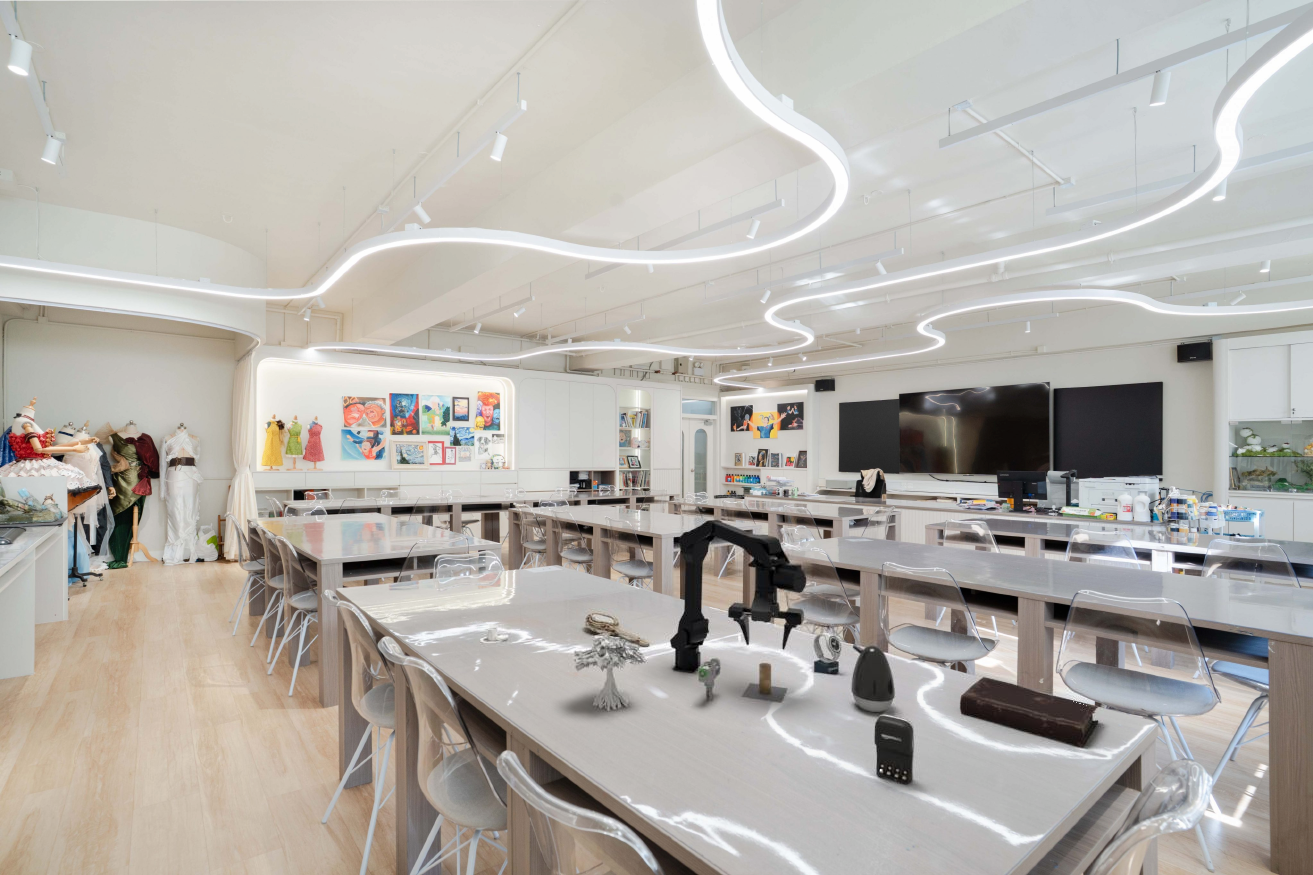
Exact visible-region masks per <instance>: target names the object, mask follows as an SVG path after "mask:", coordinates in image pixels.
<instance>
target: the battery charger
mask: <svg viewBox="0 0 1313 875" xmlns="http://www.w3.org/2000/svg"><path fill="white" fill-rule="evenodd" d="M874 745H875V747H876V748H875V749H876V751H875V752H876V768H875V769H876V775H878V776H879V777H881V778H883V779H886V780H890V781H893V782H897V783H901V784H905V785H908V784H910V783H911V782H912V781H913V780H914V759H915V758H914V757H915V756H914V755H915V754H914V753H915V729H914V725H913V723H912V722H911V721H910V720H908V719H905V718H902V717H898V716H895V715H890V714H881V715H879V716H878V718H877V719H876V721H875V724H874Z"/></svg>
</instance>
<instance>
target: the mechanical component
mask: <svg viewBox="0 0 1313 875" xmlns="http://www.w3.org/2000/svg"><path fill="white" fill-rule="evenodd" d="M697 672H698V673H697V674H698V676H697V677H698V682H699V683H704V686H705V690H706V691H705V700H706V701H708V702H712V701H713V687H714V686H715V679H717V677H718V676H719V675H720V673H721V661H720V659H719V658H717V657H712V658H711V659H710V660H708V661H704V662H703V663H702V664H701V666H700V667H699V668H698V669H697Z"/></svg>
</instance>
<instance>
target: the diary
mask: <svg viewBox="0 0 1313 875" xmlns="http://www.w3.org/2000/svg"><path fill="white" fill-rule="evenodd" d="M1073 701H1074V702H1073ZM1076 702H1077V703H1076ZM1079 703H1081V704H1079ZM1083 704H1084V705H1083ZM1086 705H1087V706H1086ZM1098 708H1099V706H1098V705H1096V704H1095V705H1094V704H1090V703H1086V702H1082V701H1077V700H1075V699H1074V700H1073V699H1070V698H1065V697H1061V696H1056V695H1053V694H1048V693H1043V692H1040V691H1037V690H1033V689H1031V688H1027V687H1024V686H1020V685H1017V684H1015V683H1012V682H1006V681H1004V680H999V679H994V678H990V677H986V676H982V677H981V678H980V679H978V680H977V681H976V682H975V683H974V684H971V686H970V687H969V688H968V689H967V690H965V692H964V693H962V694H961V695H960V701H959V709H960V714H962V715H966V716H970V717H974V718H977V719H981V720H984V721H988V722H992V723H995V724H999V725H1002V726H1005V727H1009V728H1013V729H1016V730H1019V731H1023V732H1026V733H1029V734H1033V735H1037V736H1041V737H1044V738H1049V739H1052V740H1054V741H1055V740H1056V741H1059V742H1062V743H1065V744H1068V745H1069V744H1070V745H1072V746H1075V747H1079V748H1081V749H1082V748H1085V746H1086V745H1087V743H1088V742H1089V740H1090V738H1091V737H1092V735H1093V734H1094V732H1095V730H1096V728H1097V726H1098V724H1099V720H1098V719H1095V720H1093V714H1096V712H1095V711H1096V710H1098Z"/></svg>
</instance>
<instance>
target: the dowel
mask: <svg viewBox="0 0 1313 875" xmlns="http://www.w3.org/2000/svg"><path fill="white" fill-rule="evenodd" d="M758 665H759V666H758V667H759V669H758V670H759V671H758V682H759V683H758V684H759V693H761V694H764V695H768V694H771V686H772V664H771V663H767V662H760V663H759V664H758Z"/></svg>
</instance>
